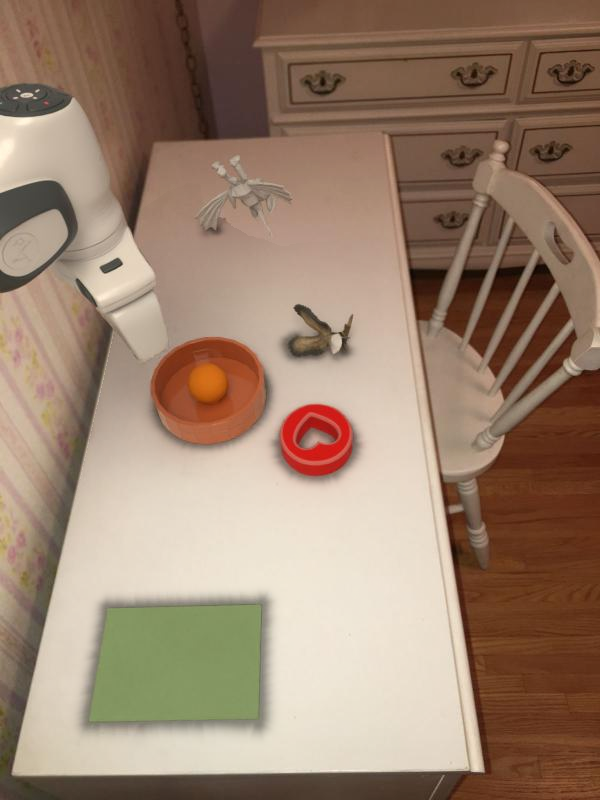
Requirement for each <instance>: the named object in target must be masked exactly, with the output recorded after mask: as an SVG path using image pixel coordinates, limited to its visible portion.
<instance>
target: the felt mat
mask: <svg viewBox="0 0 600 800" xmlns="http://www.w3.org/2000/svg"><path fill="white" fill-rule="evenodd" d="M262 607H263V606H262V604H231V605H230V604H228V605H227V604H225V605H224V604H223V605H188V606H187V605H186V606H185V605H184V606H183V605H182V606H146V607H145V606H143V607H142V606H141V607H139V606H137V607H108V608H107V610H106V616H105V622H104V628H103V632H102V633H103V634H102V639H101V645H100V652H99V657H98V664H97V670H96V675H95V682H94V685H93V686H94V687H93V693H92V700H91V704H90V710H89V716H88V722H89V723H105V722H106V723H108V722H109V723H111V722H112V723H114V722H161V721H162V722H163V721H164V722H167V721H168V722H169V721H212V720H213V721H217V720H218V721H219V720H220V721H222V720H226V721H227V720H259V715H260V713H259V712H260V681H261V680H260V679H261V678H260V677H261V676H260V675H261V642H262V641H261V637H262Z"/></svg>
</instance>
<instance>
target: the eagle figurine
mask: <svg viewBox="0 0 600 800" xmlns="http://www.w3.org/2000/svg"><path fill="white" fill-rule="evenodd" d="M292 308H293V310H294V312H295V313H296V315H298V316H299V317H300V318H301V319H302V320H303V322H304V323H305V324H306V325H307V326H308V327H309V328H311V329H312V330H314V331H316V332H317V333H318V335H311V336H310V335H299V334H298V335H297V334H296V335H294V336H293V337H291V339H289V340H288V343H286V344H287V348H288V349H289V352H290V353H291V354H292V355H293V356H296V357H301V356H304V357H305V356H313V357H314V356H315V357H317V356H320V355H323V354H324V353H325V351H326V349H328V347H329V348H330V351H331V353H332V355H335V354H337V353H338V352H340V350H342V351H343V353H345V352H346V351H347V348H348V343H347V342H348V340H349V339H350V336H349V334H350V333H351V332H350V331H351V329H352V328H351V327H352V324H353V323H352V322H353V319H354V313H351V314H350V316H349V318H348V321H347V323H344V326H343V330H342V331H338V332H337V331H336V332H335V331H333V329H332V327H331V326H330V325H329V324H328V322H326V321H322V320H321V319H319V317H318V316H317V315H316V314H315V313H314V312H313V310H312V308H309V307H308V306H306V305H304V304H300V303H297V304H296V303H295V305H293V307H292Z"/></svg>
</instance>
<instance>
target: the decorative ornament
mask: <svg viewBox="0 0 600 800" xmlns="http://www.w3.org/2000/svg"><path fill="white" fill-rule="evenodd" d="M310 429H315V430H318V431H321V432H324V433H326V434H327V435H329V436H331V437H332V438H333V439H334V442H330V443H324V442H321V441H320V440H318V441H317V443H316V444H315V445H314V446H312V447H309V448H303V447H301V446H300V445H299V444H300V442H301V440H302V439H303V437H304V436H305V435H306V434H307V432H309V430H310ZM353 434H354V433H353V426H352V424H351V422H350V421H349V419H348V418H347V416H346V415H345V414H344V413H343V412H342V411H340V410H339V409H338V408H335V407H333V406H332V405H327V404H323V403H309V404H304V405H302V406H299V407H298V408H296V409H294V410H293V411H291V412H290V413H289V414H288V415H287V416H286V417H285V418H284V420H283V421H282V424H281V426H280V430H279V443H280V449H281V453H282V456H283V458H284V460H285V462H286V463H287V464H288V465H289V467H290V468H292V469H293V470H294V471H296V472H297V473H299V474H302V475H305V476H311V477H321V476H327V475H329V474H330V475H331V474H333V473H335V472H337V471H338V470H340V469H342V468H343V466H345V464H346V463H347V462H348V461H349V460H350V458H351V455H352V451H353V441H354V440H353V439H354V437H353Z"/></svg>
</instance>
